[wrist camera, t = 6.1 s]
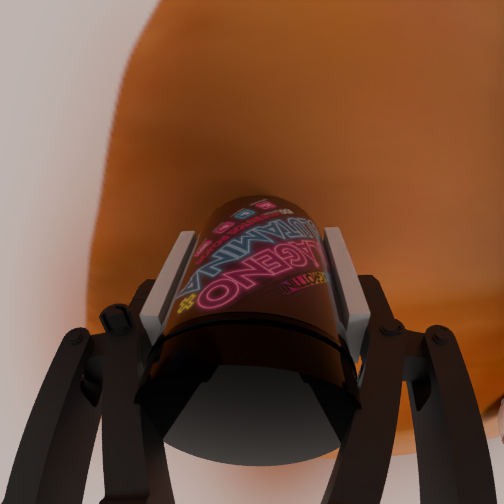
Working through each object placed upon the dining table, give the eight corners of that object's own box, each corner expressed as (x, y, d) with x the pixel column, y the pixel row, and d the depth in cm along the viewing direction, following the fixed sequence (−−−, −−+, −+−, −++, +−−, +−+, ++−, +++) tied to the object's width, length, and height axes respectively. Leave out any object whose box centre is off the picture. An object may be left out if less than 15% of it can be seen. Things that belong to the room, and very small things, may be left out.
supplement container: (347, 252, 17) (400, 426, 8) (257, 314, 19) (245, 475, 10) (263, 161, 14) (249, 316, 5) (174, 244, 17) (98, 408, 8)
